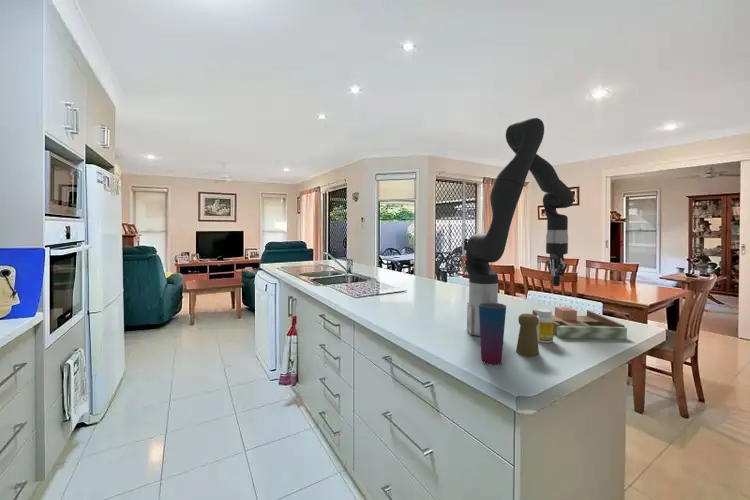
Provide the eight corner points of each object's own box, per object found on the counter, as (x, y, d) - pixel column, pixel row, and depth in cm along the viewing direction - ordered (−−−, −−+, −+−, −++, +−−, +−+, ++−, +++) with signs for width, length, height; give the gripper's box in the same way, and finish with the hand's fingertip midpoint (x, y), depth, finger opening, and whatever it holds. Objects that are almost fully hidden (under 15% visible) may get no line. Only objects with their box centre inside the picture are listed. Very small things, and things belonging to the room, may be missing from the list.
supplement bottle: (530, 339, 109) (530, 309, 108) (541, 337, 111) (542, 307, 111) (545, 344, 104) (546, 313, 103) (556, 341, 106) (557, 311, 106)
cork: (541, 357, 94) (543, 317, 93) (518, 355, 95) (519, 316, 94) (536, 349, 100) (537, 312, 99) (514, 348, 101) (514, 311, 100)
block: (562, 320, 124) (562, 310, 124) (554, 315, 130) (554, 306, 130) (576, 320, 124) (577, 310, 124) (568, 316, 130) (568, 306, 130)
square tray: (558, 337, 110) (558, 325, 110) (532, 320, 131) (532, 310, 131) (626, 338, 109) (627, 326, 109) (589, 321, 130) (589, 310, 130)
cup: (473, 356, 94) (474, 302, 93) (498, 356, 95) (499, 302, 94) (483, 366, 87) (484, 308, 86) (509, 365, 88) (511, 307, 87)
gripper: (539, 241, 141) (539, 283, 142) (554, 242, 127) (553, 289, 128) (558, 241, 140) (557, 283, 141) (575, 242, 127) (574, 289, 128)
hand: (555, 285), depth 135 cm, fingers closed
